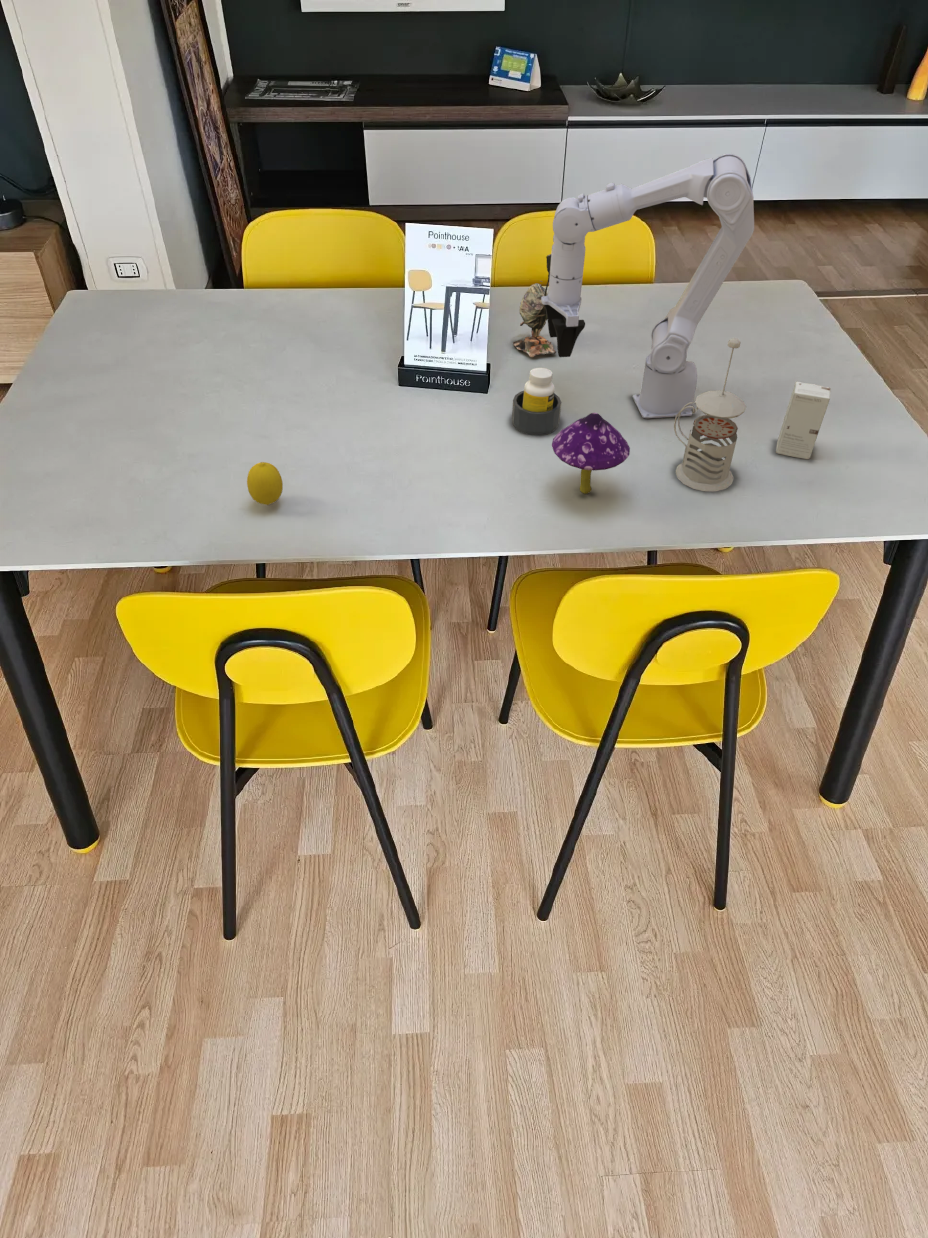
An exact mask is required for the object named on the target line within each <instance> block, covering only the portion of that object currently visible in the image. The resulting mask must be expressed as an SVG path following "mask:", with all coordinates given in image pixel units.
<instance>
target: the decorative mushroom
mask: <svg viewBox="0 0 928 1238" xmlns="http://www.w3.org/2000/svg"><path fill="white" fill-rule="evenodd" d="M551 448H552V450H553V453H554V454H555V456H556V457H557V458H558V459H559V460H560V461H561V462H563V463H564V464H567V465H568V466H570V467H573V468H576V469H579V470H580V482H579V483H580V484H579V491H580V493H582V495H583V494H584V495H588V494H589V493H590V494H591V492H592V486H591V484H592V483H591V480H592V479H591V478H592V472H593V471H605V470H606V471H607V470H610V469H613V468H616V467H618V466H619V465H621V464H623V463H624V462H625V461H626V460H627V459H628V458H629V456H630V453H631V447H630V445H629V443H628V441H627V439H625V438H624V437H623V435H622V433H621V432H620V431H619V430H618V429H617V428H616V427H615V426H613V425H612V423H610V422H609V421H607V419H604V418H603V417H602V415H601V414H599V413H598V412H591V413H588V414H587V415H586V416H584V417H581V418H579V419H576V420H575V421H574V422H572V423H570V424H569V425H568V426H566V427H564V428H562V429H561V430H559V432H557V434H556V435H555V436H554V437H553V438H552V442H551Z"/></svg>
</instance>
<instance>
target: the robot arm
mask: <svg viewBox="0 0 928 1238" xmlns="http://www.w3.org/2000/svg"><path fill="white" fill-rule="evenodd" d="M605 186H606V187H605V188H604V189H602V190H599V191H598V190H597V191H595V192H592V193H589V194H586V195H585V193H580V194H578V195H577V198H576V197H574V196H571V197H567V198H565V199H563V200H562V201H560V203H559V204H558V205H557V207H556V210H555V212H554V216H553V222H552V231H553V237H552V242H553V244H552V245H551V253H550V254H551V265H550V279H549V283H548V290H547V293H548V295H547V296H542V297H541V302H542V304H544V306H545V310H546V314H547V320H546V321H547V328H548V334H549V337H550V338H556V348H557V349H556V350H557V354H558V357H559V358H570V357H571V355H572V353H573V351H574V347H575V344H576V342H577V339H578V338H579V336H580V334H581V333H582V331H583V330H584V329H585V327H586V322H585V320H584V319H580V315H579V312H580V308H581V305H582V286H583V279H584V278H583V277H584V269H585V267H584V265H585V257H586V245H585V243H586V236H587V234H588V233H594V232H597V231H601V230H603V229H607V228H610V227H613V226H616V225H619V224H622V223H625V222H628V221H631V219H632V218H633V216H634V214H635V213H636V211H637V210H640V209H644V208H648V207H652V206H656V205H660V204H663V203H667V202H670V201H674V200H678V199H682V198H685V199H686V198H687V199H689V200H690V201H692V202H694V203H696V204H698V205H701V206H703V205H704V198H706V199H707V202H708V205H709V207H710V208H711V209H712V210H713V212H714V213H715V214H716V216H718V219H719V222H720V225H721V227H720V228H719V230H718V232H717V234H716V236H715V237H714V239H713V241H712V243H711V245H710V246H709V248H708V249H707V251H706V253H705V254H704V256H703V258H702V260H701V261H700V263H699V265H698V267H697V268H696V270H695V272H694V274H693V275H692V277H691V279H690V280H689V282H688V283H687V285H686V288H685V289H684V290H683V292H682V294H681V296H680V297H679V300H678V301H677V302H676V304H675V306H674V307H672V308H671V309H669V311H668V312H667V314H666V315H665V317H664V318H663V319H661V320H660V321H658V322H657V323H656V324H655V325H654V326H653V328H652V330H651V351H650V353H649V354H648V355H647V356H646V358H645V363H644V370H643V375H642V381H641V388H640V393H638V394H633V395H632V400H633V401H634V403H635V405H636V407H637V409H638V411H639V413H640V415H641V417H642V418H643V419H659V418H675V417H676V416H677V414H678V413H679V412H680V410H681V409H682V408H683V407H684V406H685V405H686V404H688V403H690V402H694V401H695V400H694V399H695V394H696V391H697V385H698V370H697V366H696V364H695V362H693V361H692V360H691V361H690V360H687V359H688V358H687V357H688V349H689V347H690V346H691V344H692V342H693V339H694V336H695V334H696V330H697V328H698V325H699V323H700V321H701V320H702V318H703V316H704V315H705V313H706V311H707V310H708V308H709V307H710V305H711V303H712V302H713V300H714V298H715V297H716V295H717V293H718V292H719V290H720V289H721V287H722V285H723V284H724V282H725V280H726V279H727V277H728V276H729V274H730V272H731V271H732V269H733V267H734V265H735V264H736V262H737V261H738V259H739V258H740V256H741V254H742V252H743V251H744V249H745V248H746V246H747V244H748V243H749V241H750V240H751V238H752V236H753V234H754V232H755V213H754V212H755V210H754V208H755V206H754V193H753V192H754V191H753V186H752V178H751V175H750V173H749V170H748V168H747V166H746V163H745V161H744V160H743V158H741V157H740V156H739V155H737V154H734V153H724V154H721V155H718V156H717V157H716V158H714V157H710V158H704V159H702V160H700V161H698V162H696V163H693V164H691V165H689V166H686V167H684V168H681V169H678V170H676V171H674V172H671V173H667V174H666V175H663V176H661V177H658V178H655V179H652V180H650V181H648V182H645V183H642V184H640V185H638V186H634V187H630V186H628V185H626V184H624V183H619V184H616V185H615V182H614V181H613V182H610V183H607V184H606V185H605ZM693 404H694V403H693ZM693 404H690V405H688V406H693ZM688 406H686V407H688ZM691 416H693V408H692V407H691V408H686V409H685V410H683V411H682V412H681V415H680V417H691ZM678 417H679V415H678Z"/></svg>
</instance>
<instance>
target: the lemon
mask: <svg viewBox="0 0 928 1238" xmlns="http://www.w3.org/2000/svg"><path fill="white" fill-rule="evenodd" d="M283 484H284V483H283V479H282V476H281V474H280V471H279V470H278V468H277V467H276V466H275V465H274V464H272V463H270V462H265V461H259V462H258V463H255V464H254V465H252V467H251V468H250V469H249V470H248V473H247V476H246V486H247V491H248V493H249V496H250V497H251V498H252V499H253V500H254V501H255V502H256V503H258V504H260V505H265V506H270V505H271V504H274V503H276V502H277V501H278V500H279V499H280V498H281V496H282V493H283V488H284V487H283V486H284V485H283Z"/></svg>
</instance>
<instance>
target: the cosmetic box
mask: <svg viewBox="0 0 928 1238" xmlns="http://www.w3.org/2000/svg"><path fill="white" fill-rule="evenodd" d="M831 390H832V389H831V387H828V386H823V385H819V384H814V383H807V382H801V381H795V382H794V385H793V388H792V393H791V395H790V398H789V401H788V405H787V408H786V411H785V415H784V418H783V421H782V425H781V428H780V431H779V434H778V438H777V441H776V448H775V453H776V454H778V455H783V456H787V457H793V458H798V459H802V460H809V459H811V457H812V453H813V450H814V448H815V444H816V441H817V439H818V435H819V433H820V429H821V428H822V427H821V426H822V423H823V421H824V418H825V415H826V412H827V409H828V406H829V405H830V400H831V392H832V391H831Z"/></svg>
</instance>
